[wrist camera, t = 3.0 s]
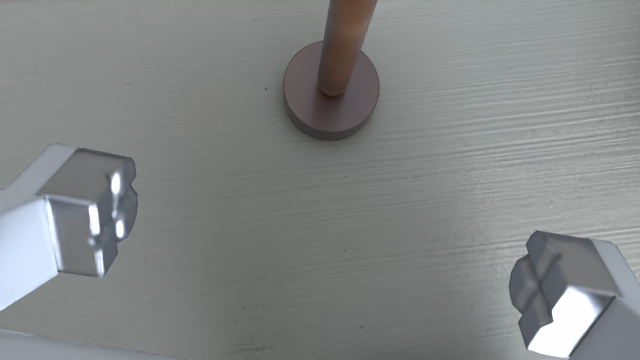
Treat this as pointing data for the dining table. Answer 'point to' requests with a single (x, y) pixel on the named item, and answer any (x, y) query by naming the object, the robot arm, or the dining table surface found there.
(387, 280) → the dining table surface
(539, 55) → the dining table surface
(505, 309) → the dining table surface
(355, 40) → the wooden plunger
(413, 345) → the dining table surface
